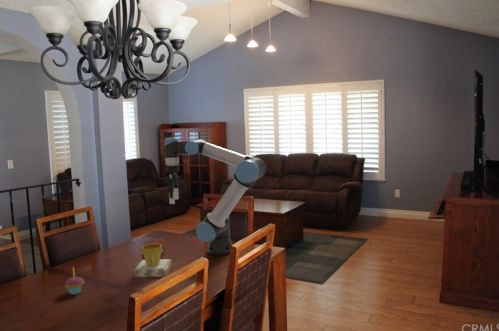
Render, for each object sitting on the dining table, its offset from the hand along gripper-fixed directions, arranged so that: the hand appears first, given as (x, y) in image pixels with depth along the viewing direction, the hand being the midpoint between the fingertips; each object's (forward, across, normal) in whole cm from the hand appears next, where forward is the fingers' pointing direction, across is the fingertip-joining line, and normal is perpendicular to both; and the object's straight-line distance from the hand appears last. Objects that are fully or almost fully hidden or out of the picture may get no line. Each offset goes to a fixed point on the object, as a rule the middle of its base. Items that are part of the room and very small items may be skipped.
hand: (174, 201), depth 249 cm
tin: (+32, +8, -12) cm, 35 cm away
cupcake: (+32, +51, -39) cm, 72 cm away
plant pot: (+28, +27, -8) cm, 39 cm away
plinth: (+32, +26, -8) cm, 42 cm away
